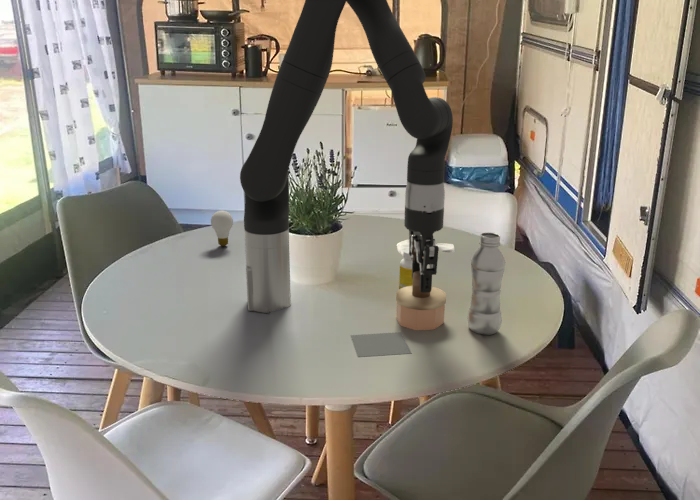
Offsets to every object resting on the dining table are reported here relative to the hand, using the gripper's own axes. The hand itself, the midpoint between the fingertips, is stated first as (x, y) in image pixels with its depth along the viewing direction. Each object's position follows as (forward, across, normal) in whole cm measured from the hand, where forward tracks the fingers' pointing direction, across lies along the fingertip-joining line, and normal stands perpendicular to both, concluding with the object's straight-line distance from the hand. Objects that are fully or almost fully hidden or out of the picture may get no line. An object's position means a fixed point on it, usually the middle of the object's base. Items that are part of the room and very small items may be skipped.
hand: (421, 285), depth 136 cm
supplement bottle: (+8, -16, +2) cm, 19 cm away
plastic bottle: (+8, +6, +12) cm, 15 cm away
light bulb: (+8, -56, -41) cm, 70 cm away
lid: (+3, 0, 0) cm, 3 cm away
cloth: (+9, -44, +13) cm, 46 cm away
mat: (+8, +10, -10) cm, 16 cm away
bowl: (+8, 0, 0) cm, 8 cm away
